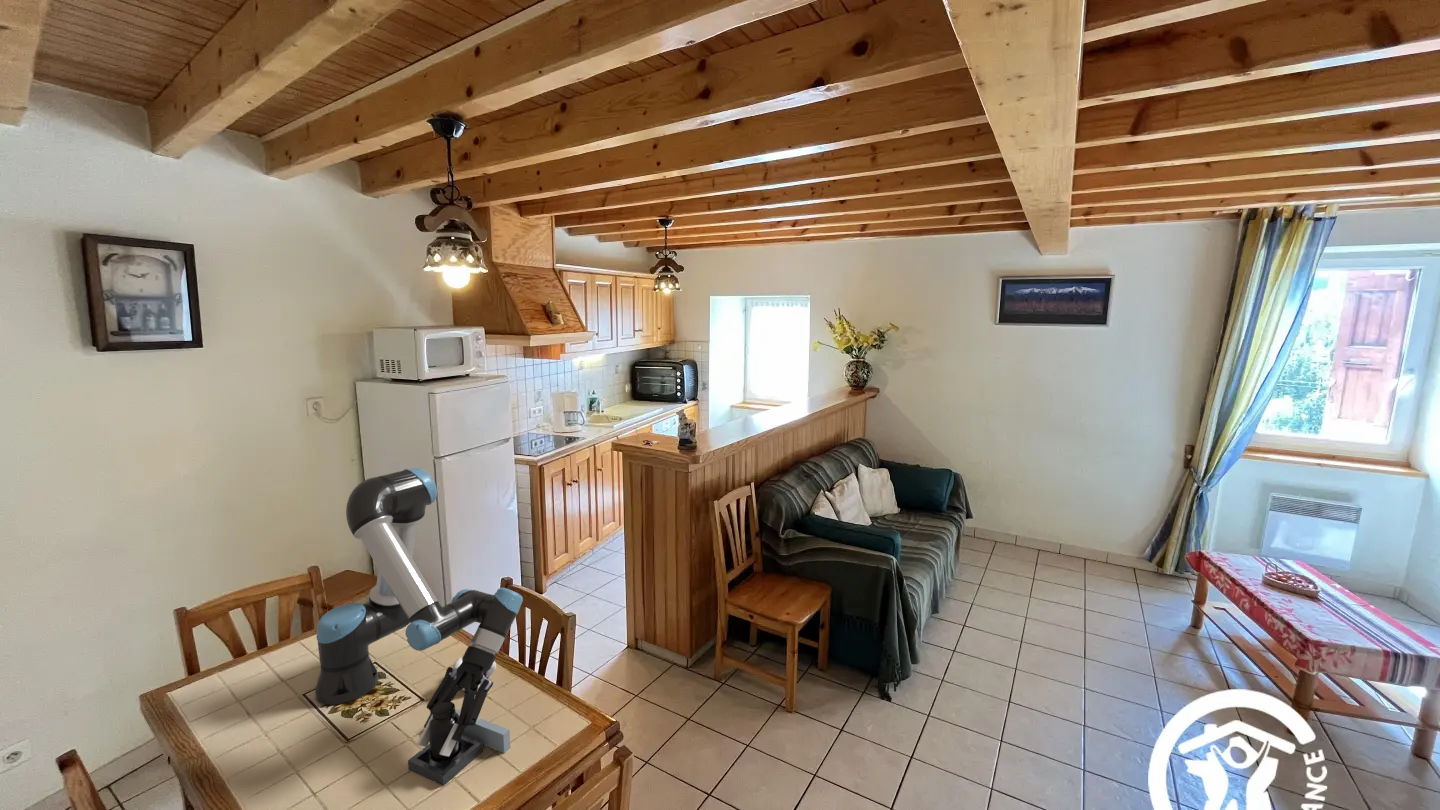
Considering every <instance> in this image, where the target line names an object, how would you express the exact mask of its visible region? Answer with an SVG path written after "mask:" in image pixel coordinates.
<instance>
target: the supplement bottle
mask: <svg viewBox="0 0 1440 810" xmlns="http://www.w3.org/2000/svg"><path fill="white" fill-rule="evenodd" d="M455 709H456V704H455V703H454V702H452V701H451V702H443V703H440V704H438V705H437V706H436V707H435V708H434V709H433V718H432V720H431V721H430V723H429V744H430V756H431V759H432V760H433V761H434V762H437V763H444V762H448V761H450V760H452V759H454V758H455V757H456V756H457V755H458V754H459V753H460V751H461V738H460V740H459V741H456V743H455V745H454V747H453V750H452V752H451V754H450V756H444V755H441V754H439V753H440V751H441V749H442V747H443V745H444V743H445V741H446V739H447V737H448V735H449V733H450V731H451V729H452V727H453V725H454V723H456V721H459V717H460V716H459V714H458V713H456V712H455ZM456 724H457V723H456Z"/></svg>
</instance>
